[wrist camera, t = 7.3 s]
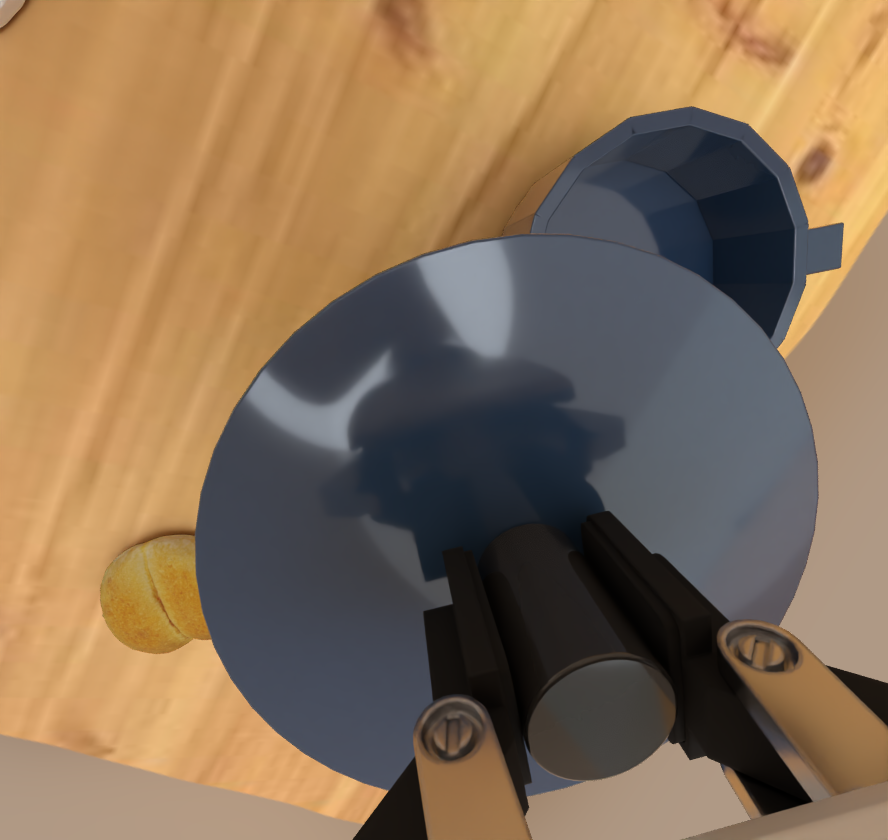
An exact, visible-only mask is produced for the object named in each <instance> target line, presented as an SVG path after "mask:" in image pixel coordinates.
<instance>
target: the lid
mask: <svg viewBox="0 0 888 840" xmlns="http://www.w3.org/2000/svg"><path fill="white" fill-rule="evenodd" d="M817 505H818V461H817V454H816V449H815V442H814V436H813V430H812V425H811V423H810V419H809V416H808V413H807V410H806V407H805V404H804V401H803V397H802V395H801V392H800V390H799V388H798V386H797V384H796V382H795V380H794V378H793V376H792V374H791V372H790V370H789V368H788V366H787V364H786V362H785V360H784V358H783V357H782V355H781V354H780V353H779V351H778V350H777V349H776V347H775V346H774V344H773V343H772V342H771V340H770V339H769V338H768V336H767V335H766V333H765V332H764V331H763V329H762V328H761V327H760V326H759V325H758V324H757V323H756V322H755V321H754V320H753V319H752V318H751V317H750V316H749V315H748V314H747V313H746V312H745V311H744V310H743V309H742V308H741V307H740V306H739V305H738V304H737V303H736V302H735V301H734V300H733V299H732V298H730V297H729V296H728V295H726V294H725V293H723V292H722V291H721V290H719V289H718V288H716V287H715V286H714V285H712V284H711V283H710V282H708V281H707V280H705V279H704V278H703V277H701V276H700V275H698V274H696V273H694V272H692V271H690V270H688V269H686V268H684V267H682V266H680V265H678V264H676V263H674V262H672V261H670V260H668V259H666V258H664V257H662V256H660V255H658V254H654V253H651V252H648V251H645V250H642V249H639V248H636V247H632V246H629V245H626V244H623V243H620V242H617V241H611V240H604V239H598V238H592V237H585V236H579V235H573V234H514V235H507V236H499V237H492V238H484V239H477V240H470V241H467V242H463V243H460V244H456V245H453V246H449V247H445V248H442V249H438V250H435V251H431V252H428V253H424V254H421V255H419V256H417V257H414V258H412V259H410V260H407V261H405V262H403V263H401V264H398V265H396V266H394V267H391V268H389V269H387V270H385V271H382V272H380V273H378V274H375V275H374V276H372V277H371V278H369V279H367V280H366V281H364V282H362V283H361V284H359V285H358V286H356V287H354V288H353V289H351V290H349V291H348V292H346V293H345V294H343V295H341V296H340V297H338V298H336V299H335V300H333V301H332V302H330V303H329V304H328V305H327V306H326V307H324V308H323V309H322V310H321V311H319V312H318V313H317V314H316V315H315V316H313V317H312V318H311V319H310V320H309V321H307V322H306V323H305V324H304V325H303V326H301V327H300V328H299V329H298V330H296V331H295V332H294V333H293V334H292V335H291V336H290V337H289V338H288V339H287V341H286V342H285V343H284V344H283V345H282V346H281V347H280V348H279V349H278V350H277V351H276V353H275V354H274V355H273V356H272V357H271V358H270V359H269V360H268V361H267V362H266V363H265V365H264V366H263V367H262V368H261V369H260V370H259V372H258V373H257V375H256V376H255V378H254V379H253V381H252V382H251V384H250V385H249V387H248V388H247V389H246V391H245V392H244V394H243V395H242V397H241V398H240V400H239V401H238V403H237V404H236V406H235V407H234V409H233V411H232V413H231V415H230V417H229V419H228V421H227V423H226V425H225V427H224V429H223V431H222V433H221V436H220V438H219V440H218V442H217V444H216V446H215V448H214V450H213V454H212V457H211V460H210V463H209V467H208V470H207V473H206V476H205V480H204V483H203V486H202V489H201V494H200V501H199V508H198V515H197V522H196V529H195V573H196V579H197V585H198V591H199V597H200V602H201V608H202V613H203V616H204V619H205V622H206V625H207V628H208V631H209V633H210V636H211V639H212V642H213V645H214V648H215V650H216V652H217V653H218V655H219V657H220V659H221V661H222V663H223V665H224V667H225V669H226V671H227V672H228V674H229V676H230V678H231V680H232V681H233V683H234V684H235V685H236V687H237V688H238V689H239V691H240V692H241V693H242V695H243V696H244V697H245V699H246V700H247V702H248V703H249V704H250V706H251V707H252V708H253V709H254V710H255V711H256V712H257V713H258V714H259V715H260V716H261V717H262V718H263V719H264V720H265V721H266V722H267V723H268V724H269V725H270V726H271V727H272V728H273V729H274V730H275V731H276V732H277V733H278V734H279V735H281V736H282V737H283V738H284V739H286V740H287V741H288V742H290V743H291V744H292V745H294V746H295V747H296V748H297V749H299V750H300V751H301V752H303V753H304V754H306V755H308V756H309V757H311V758H313V759H314V760H316V761H318V762H320V763H321V764H323V765H325V766H327V767H328V768H330V769H332V770H334V771H336V772H338V773H341V774H343V775H345V776H348V777H350V778H352V779H355V780H357V781H360V782H362V783H364V784H368V785H371V786H374V787H378V788H381V789H385V790H388V791H389V790H390V789H391V787H392V786H393V785H394V783H395V782H396V781H397V779H398V778H399V777H400V775H401V774H402V773H403V771H404V770H405V769H406V767H407V766H408V765H409V763H410V762H411V761H412V759H413V758H414V757H415V752H414V745H413V730H414V727H415V724H416V721H417V719H418V717H419V716H420V714H421V713H422V712H423V710H424V709H425V708H426V707H427V706H428V705H430V704H431V703H432V702H433V697H432V688H431V679H430V670H429V662H428V653H427V644H426V635H425V626H424V617H423V611H426V610H430V609H434V608H438V607H442V606H446V605H450V604H453V602H452V598H451V593H450V588H449V583H448V578H447V574H446V569H445V564H444V559H443V555H442V551H444V550H448V549H452V548H456V547H460V546H462V547H463V550H464V551H468V550H472V552H473V555H474V558H475V561H476V564H477V567H478V571H479V574H480V577H481V580H482V583H483V586H484V589H485V592H486V595H487V598H488V602H489V605H490V608H491V611H492V614H493V617H494V620H495V623H496V626H497V629H498V633H499V636H500V639H501V642H502V645H503V648H504V651H505V654H506V658H507V661H508V665H509V669H510V673H511V677H512V682H513V687H514V692H515V697H516V702H517V707H518V713H519V718H520V723H521V728H522V734H523V738H524V743H525V748H526V753H527V758H528V763H529V768H530V773H531V779H532V783H530V784H527V785H524V786H525V791H526V796H533V795H537V794H542V793H546V792H551V791H555V790H559V789H564V788H567V787H570V786H573V785H576V784H580V783H583V782H586V781H595V780H602V779H606V778H610V777H614V776H617V775H620V774H622V773H624V772H627V771H629V770H631V769H633V768H634V767H636V766H638V765H639V764H641V763H642V762H644V761H645V760H647V759H648V758H649V757H650V756H652V755H653V754H654V753H655V752H656V751H657V750H658V749H659V748H660V747H661V746H662V745H663V744H665V743H666V742H668V741H669V740H668V739H667V737H668V736H669V734H670V733H671V731H672V729H673V726H674V724H675V721H676V718H677V713H678V694H677V690H676V687H675V683H674V681H673V679H672V678H671V676H670V674H669V673H668V672H667V670H666V669H665V667H664V666H663V665H662V663H661V662H660V661H659V659H658V658H657V656H656V655H655V654H654V652H653V651H652V650H651V648H650V647H649V645H648V644H647V643H646V641H645V640H644V639H643V637H642V636H641V634H640V633H639V632H638V630H637V629H636V627H635V626H634V625H633V623H632V622H631V621H630V619H629V618H628V616H627V615H626V614H625V612H624V611H623V610H622V608H621V607H620V605H619V604H618V603H617V601H616V600H615V599H614V597H613V596H612V594H611V593H610V592H609V590H608V589H607V588H606V586H605V585H604V583H603V582H602V581H601V579H600V578H599V576H598V575H597V574H596V572H595V571H594V570H593V568H592V567H591V565H590V564H589V563H588V561H587V560H586V559H585V557H584V551H583V543H582V535H581V523H583V522H586V518H587V516H588V515H592V514H596V513H600V512H604V511H610V512H611V513H612V514H613V515H614V516H615V517H616V518H617V519H618V520H619V521H620V522H621V523H622V524H623V525H624V526H625V527H626V528H627V529H628V530H629V531H630V532H631V533H632V534H633V535H634V536H635V537H636V538H637V539H638V540H639V541H640V542H641V543H642V544H643V545H644V546H645V547H646V548H647V549H648V550H649V551H650V552H651V553H652V554H654V553H659V554H661V555H662V556H664V557H665V558H666V559H667V560H668V561H669V562H670V563H671V564H672V565H673V566H674V567H675V568H676V569H677V570H678V571H679V572H680V573H681V574H682V575H683V576H684V577H685V578H686V579H687V580H688V581H689V582H690V583H691V584H692V585H693V586H694V587H695V588H696V589H697V590H698V591H699V592H700V593H701V594H702V595H703V596H705V597H706V598H707V599H708V600H709V601H710V602H711V603H712V604H713V605H714V606H715V607H716V608H717V609H718V610H719V611H720V612H721V613H722V614H723V615H724V616H725V617H726V618H727V619H728V620H729V621H730V622H731V621H734V620H741V619H753V620H761V621H765V622H768V623H771V624H774V625H777V626H779V625H780V623H781V621H782V619H783V617H784V615H785V613H786V612H787V610H788V608H789V606H790V604H791V602H792V600H793V598H794V596H795V593H796V590H797V588H798V585H799V582H800V580H801V577H802V575H803V572H804V569H805V567H806V564H807V560H808V555H809V551H810V547H811V543H812V539H813V535H814V531H815V522H816V513H817Z"/></svg>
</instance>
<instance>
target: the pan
mask: <svg viewBox="0 0 888 840" xmlns="http://www.w3.org/2000/svg"><path fill="white" fill-rule="evenodd" d="M748 125H749V124H746V123H743V122H740V121H737V120H734V119H731V118H728V117H724V116H721V115H718V114H715V113H712V112H709V111H706V110H702V109H699V108H696V107H692V106H691V107H685V108H679V109H674V110H668V111H662V112H657V113H651V114H645V115H639V116H634V117H630V118H628V119H626V120H625V121H623V122H622V123H620V124H619V125H617V126H616V127H615V128H613V129H612V130H610V131H609V132H607V133H606V134H604V135H603V136H601V137H600V138H599V139H597V140H596V141H594V142H593V143H591V144H590V145H588V146H587V147H585V148H584V149H582V150H581V151H580V152H578V153H577V154H575V155H574V156H572V157H571V158H569V159H568V160H567V161H565V162H564V163H562V164H561V165H559V166H558V167H557V168H555V169H554V170H552V171H551V172H549V173H548V174H547V175H545V176H544V177H542V178H541V179H539V180H538V181H537V182H535V183H534V184H533V185H532V187H531V188H530V190H529V191H528V193H527V194H526V195H525V197H524V198H523V199H522V201H521V202H520V203H519V205H518V206H517V207H516V209H515V211H514V212H513V214H512V216H511V217H510V219H509V221H508V223H507V224H506V226H505V227H504V230H503V233H502V236H507V235H514V234H573V235H579V236H585V237H592V238H598V239H604V240H611V241H617V242H620V243H623V244H626V245H629V246H632V247H636V248H639V249H642V250H645V251H648V252H651V253H654V254H658V255H660V256H662V257H664V258H666V259H668V260H670V261H672V262H674V263H676V264H678V265H680V266H682V267H684V268H686V269H688V270H690V271H692V272H694V273H696V274H698V275H700V276H701V277H703V278H704V279H705V280H707V281H708V282H710V283H711V284H712V285H714V286H715V287H716V288H718V289H719V290H721V291H722V292H723V293H725V294H726V295H728V296H729V297H730V298H732V299H733V300H734V301H735V302H736V303H737V304H738V305H739V306H740V307H741V308H742V309H743V310H744V311H745V312H746V313H747V314H748V315H749V316H750V317H751V318H752V319H753V320H754V321H755V322H756V323H757V324H758V325H759V326H760V327H761V328H762V329H763V331H764V332H765V333H766V335H767V336H768V338H769V339H770V340H771V342H772V343H773V344H774V346H775V347H776V349H777V348H778V347H779V346H780V344H781V343H782V342H783V340H784V339H785V337H786V334H787V332H788V329H789V327H790V324H791V321H792V319H793V316H794V314H795V311H796V309H797V306H798V304H799V301H800V299H801V296H802V293H803V291H804V288H805V286H806V284H805V283H806V275H809V274H814V273H819V272H824V271H829V270H834V269H839V268H840V267H841V258H842V243H843V228H844V223H835V224H828V225H823V226H818V227H813V228H808V227H809V224H808V219H807V216H806V213H805V210H804V207H803V204H802V201H801V198H800V195H799V193H798V190H797V187H796V184H795V181H794V178H793V175H792V172H791V169H790V167H788V165H787V164H786V162H785V161H784V160H783V159H782V158H781V157H780V156H779V155H778V154H777V153H776V152H775V151H774V150H773V149H772V148H771V147H770V146H769V145H768V144H767V143H766V142H765V141H764V140H763V139H762V138H761V137H760V136H759V135H758V134H757V133H756V132H755V131H754V130H753V129H752V128H751V127H750V126H748Z"/></svg>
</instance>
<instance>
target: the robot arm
mask: <svg viewBox="0 0 888 840" xmlns="http://www.w3.org/2000/svg"><path fill="white" fill-rule="evenodd" d="M24 2H25V0H0V28H1V27H3V26H4V25H6V24H7V23H8V22H9V21H10V20H11V18H12V17H13V16H14V15H15V14H16V13H17V12H18V11H19V10H20V9H21V7H22V6H23V4H24ZM581 535H582V543H583V551H584V557H585V559H586V560H587V561H588V563H589V564H590V565H591V567H592V568H593V570H594V571H595V572H596V574H597V575H598V576H599V578H600V579H601V581H602V582H603V583H604V585H605V586H606V588H607V589H608V590H609V592H610V593H611V594H612V596H613V597H614V599H615V600H616V601H617V603H618V604H619V605H620V607H621V608H622V610H623V611H624V612H625V614H626V615H627V616H628V618H629V619H630V621H631V622H632V623H633V625H634V626H635V627H636V629H637V630H638V632H639V633H640V634H641V636H642V637H643V639H644V640H645V641H646V643H647V644H648V645H649V647H650V648H651V650H652V651H653V652H654V654H655V655H656V656H657V658H658V659H659V661H660V662H661V663H662V665H663V666H664V667H665V669H666V670H667V672H668V673H669V674H670V676H671V678H672V679H673V681H674V683H675V687H676V690H677V694H678V713H677V718H676V721H675V724H674V726H673V729H672V731H671V733H670V734H669V736H668V737H667V739H668V740H669V741H670V742H671V743H672V744H676V743H679V744H680V745H681V747H682V749H683V750H684V751H685V753H686V755H687V757H688V758H689V760H693V759H696V758H700V757H704V756H707V757H708V758H709V759H712V760H714V761H716V762H719V763H720V764H721V768H722V770H723V772H724V775H725V777H726V778H727V780H728V782H729V783H730V785H731V787H732V789H733V790H734V792H735V794H736V795H737V797H738V799H739V800H740V802H741V804H742V805H743V807H744V809H745V810H746V812H747V814H748V815H749V817H750V819H751V820H748V821H745V822H741V823H738V824H735V825H731V826H727V827H724V828H721V829H717V830H713V831H710V832H707V833H703V834H700V835H696V836H693V837H689V838H686V839H682V840H888V683H885V682H881V681H878V680H875V679H871V678H868V677H864V676H861V675H858V674H854V673H851V672H847V671H844V670H840V669H837V668H833V667H830V666H827V665H825V664H823V663H822V662H821V661H820V660H819V659H818V658H817V657H816V656H815V655H814V654H813V653H812V652H811V651H810V650H809V649H808V648H807V647H806V646H805V645H804V644H803V643H802V642H801V641H800V640H799V639H798V638H796V637H795V636H794V635H792V634H791V633H790V632H789V631H787V630H785V629H783V628H781V627H779V626H777V625H774V624H771V623H768V622H765V621H761V620H753V619H741V620H734V621H731V622H730V621H729V620H728V619H727V618H726V617H725V616H724V615H723V614H722V613H721V612H720V611H719V610H718V609H717V608H716V607H715V606H714V605H713V604H712V603H711V602H710V601H709V600H708V599H707V598H706V597H705V596H703V595H702V594H701V593H700V592H699V591H698V590H697V589H696V588H695V587H694V586H693V585H692V584H691V583H690V582H689V581H688V580H687V579H686V578H685V577H684V576H683V575H682V574H681V573H680V572H679V571H678V570H677V569H676V568H675V567H674V566H673V565H672V564H671V563H670V562H669V561H668V560H667V559H666V558H665V557H664V556H662V555H661V554H659V553H654V554H652V553H651V552H650V551H649V550H648V549H647V548H646V547H645V546H644V545H643V544H642V543H641V542H640V541H639V540H638V539H637V538H636V537H635V536H634V535H633V534H632V533H631V532H630V531H629V530H628V529H627V528H626V527H625V526H624V525H623V524H622V523H621V522H620V521H619V520H618V519H617V518H616V517H615V516H614V515H613V514H612V513H611V512H610V511H604V512H600V513H596V514H592V515H588V516H587V518H586V522H583V523H581ZM442 555H443V559H444V564H445V569H446V574H447V578H448V583H449V588H450V593H451V598H452V602H453V604H450V605H446V606H442V607H438V608H434V609H430V610H426V611H423V617H424V626H425V635H426V644H427V653H428V662H429V670H430V679H431V688H432V697H433V702H432V703H431V704H430V705H428V706H427V707H426V708H425V709H424V710H423V712H422V713H421V714H420V716H419V717H418V719H417V721H416V724H415V727H414V730H413V745H414V752H415V757H414V758H413V759H412V761H411V762H410V763H409V765H408V766H407V767H406V769H405V770H404V771H403V773H402V774H401V775H400V777H399V778H398V779H397V781H396V782H395V783H394V785H393V786H392V787H391V789H390V790H389V791H388V793H387V794H386V795H385V797H384V798H383V799H382V801H381V802H380V803H379V805H378V806H377V808H376V809H375V810H374V812H373V813H372V814H371V816H370V817H369V818H368V820H367V821H366V822H365V824H364V825H363V826H362V828H361V829H360V830H359V832H358V833H357V834H356V836H355V837H354V838H353V840H532V837H531V834H530V831H529V828H528V825H527V822H526V819H525V815H526V813H527V811H528V808H529V805H528V800H527V796H526V791H525V786H524V785H527V784H530V783H532V779H531V773H530V768H529V763H528V758H527V753H526V748H525V743H524V738H523V734H522V728H521V723H520V718H519V713H518V707H517V702H516V697H515V692H514V687H513V682H512V677H511V673H510V669H509V665H508V661H507V658H506V654H505V651H504V648H503V645H502V642H501V639H500V636H499V633H498V629H497V626H496V623H495V620H494V617H493V614H492V611H491V608H490V605H489V602H488V598H487V595H486V592H485V589H484V586H483V583H482V580H481V577H480V574H479V571H478V567H477V564H476V561H475V558H474V555H473V552H472V550H468V551H464V550H463V547H462V546H460V547H456V548H452V549H448V550H444V551H442Z"/></svg>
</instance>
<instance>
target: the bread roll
mask: <svg viewBox="0 0 888 840" xmlns="http://www.w3.org/2000/svg"><path fill="white" fill-rule="evenodd" d="M100 593H101V594H100V601H101V607H102V611H103V617H104V618H105V621H106V623H107V625H108V627H109V629H110V630H111V632H112V633H113V634H114V636H115V637H116V638H117V639H118V640H119V641H120V642H122V643H123V644H125V645H126V646H128V647H129V648H131V649H133V650H137V651H141V652H146V653H153V654H163V653H169V652H172V651H174V650H176V649H179V648H180V647H182V646H184V645H185V644H187V643H189V642H190V641H191V640H192V639H193V638H194V639H201V640H210V639H211V636H210V633H209V631H208V628H207V625H206V622H205V619H204V616H203V613H202V608H201V602H200V597H199V591H198V585H197V579H196V573H195V536H192V535H168V536H162V537H158V538H156V539H153V540H151V541H148V542H146V543H142V544H138V545H135V546H133V547H131V548H129V549H127V550H126V551H125V552H123V553H122V554H120V555H119V556H118V557H117V558H116V559H115V560H114V561H113V562H112V563H111V564H110V566H109V567H108V568H107V569H106V571H105V574H104V577H103V580H102V583H101V588H100Z"/></svg>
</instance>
